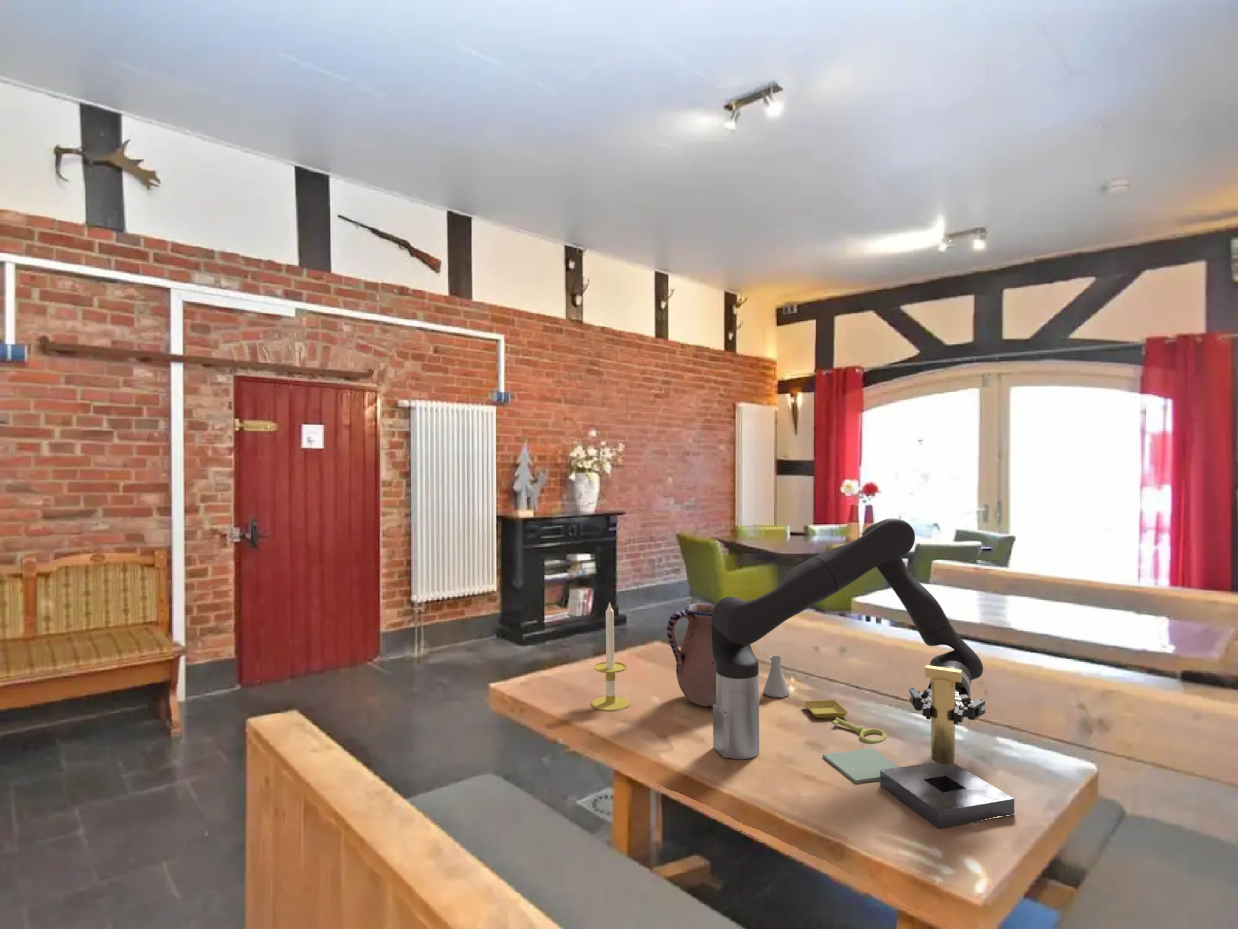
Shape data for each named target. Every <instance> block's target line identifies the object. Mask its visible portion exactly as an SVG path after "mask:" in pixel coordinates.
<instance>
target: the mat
mask: <svg viewBox="0 0 1238 929" xmlns="http://www.w3.org/2000/svg"><path fill="white" fill-rule="evenodd" d="M822 758H823V759H824V760H826V761H827V762H828V763H830V765H832V766H833V767H835V768H836V769H837V770H839V771H840V772H841V773H842V774H843V775H845V776H846V777H847V778H849V780H851V781H852V782H853V783H855V784H862V783H867V782H874V781H880V770H885V769H892V768H899V767H900V765H898V764H897V763H895V762H894V761H892V760H891V759H889V758H887V757H886V756H884V755H883V754H882V753H880V752H879V751H877V750H875V749H874V748H872V747H867V748H862V749H855V750H854V749H853V750H846V751H841V752H839V751H838V752H833V753H825V754H822Z"/></svg>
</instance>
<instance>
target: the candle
mask: <svg viewBox="0 0 1238 929" xmlns="http://www.w3.org/2000/svg"><path fill="white" fill-rule="evenodd" d="M614 614H615V610H613V608H612V605H611V602H610V601H609V603H608V605H607V609H606V610H605V651H606V652H605V654H606V655H605V661H604V662H603V661H602V662H599V663H597V664H595V665H594V666H593V669H594V670H595V671H597V672H599V673H602V674H603V673H605V696H602V697H601V696H600V697H598V698H595V699H594V700H593V701H591V707H593V709H595V708H596V709H595V710H598V709H599V710H598V711H602V710H603V711H602V712H616V710H618V711H621V710H620V709H623V708H625V707H627V705H629V704H631V703H630V701H629V700H628V699H627V698H624V697H621V696H617V695H616V673H617V674H618V673H620V672H621V673H622V672H624V671H625V670H627V665H626V664H625V663H623V662H619V661H615V616H614ZM629 706H630V705H629ZM627 708H628V707H627ZM625 709H626V708H625ZM623 710H624V709H623Z"/></svg>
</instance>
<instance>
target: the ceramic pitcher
mask: <svg viewBox="0 0 1238 929" xmlns="http://www.w3.org/2000/svg"><path fill="white" fill-rule="evenodd" d="M714 607H715V605H714V604H713V603H710V602H708V601H707V602H705V601H704V602H694V603H691V604H687V605H686V606H685V607H684V610H683V609H681V610H677V611H676V612H674V613H673V614H671V615H670V618H669V620H668V622H667V625H666V633H667V639H668V642H669V645H670V648H671V651H672V653H673V656H674V660H675V663H676V666H675V668H676V669H675V673H676V678H677V680H676V681H677V683H678V686H679V688H680V690H681V691H682V694H683V695H684V696H685V697H686V698H687V699H688V700H689V701H691V703H693V704H695V705H698V706H702V707H708V706H713V705H714V704H716V663H715V660H714V657H713V652H712V633H711V618H712V612H713V609H714ZM683 618H685V619H687V620H688V624H687V627H686V631H685V633H684V638H683V640H682V642H681V647H680V649H679V647H678V645H677V642H676V637H675V626H676V625H677V623H678V622H679V620H681V619H683Z"/></svg>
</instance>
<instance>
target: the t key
mask: <svg viewBox="0 0 1238 929" xmlns="http://www.w3.org/2000/svg"><path fill="white" fill-rule="evenodd" d="M924 677H925V678H926V679H927V678H929V679H930V681H931V719H930V724H931V725H930V759H931V760H932V761H933V762H937V763H940V764H947V765H949V764H954V763H955V760H956V758H955V757H956V733H955V732H956V724H953V713H954V708H955V682H960V683H961V680H962V670H958V669H950V668H943V667H936V666H930V664H929V665H928V664H926V665H925V666H924ZM955 764H956V763H955Z"/></svg>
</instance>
